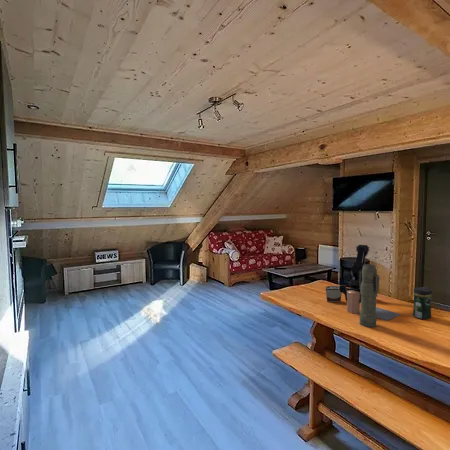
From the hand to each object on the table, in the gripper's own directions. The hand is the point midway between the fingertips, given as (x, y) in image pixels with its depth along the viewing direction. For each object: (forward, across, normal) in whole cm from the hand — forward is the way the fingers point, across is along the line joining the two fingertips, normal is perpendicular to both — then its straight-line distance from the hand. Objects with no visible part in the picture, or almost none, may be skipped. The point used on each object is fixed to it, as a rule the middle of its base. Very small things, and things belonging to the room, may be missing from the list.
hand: (352, 301), depth 193 cm
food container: (-7, -16, +17) cm, 24 cm away
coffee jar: (-4, +37, +14) cm, 40 cm away
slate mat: (+1, +16, +9) cm, 18 cm away
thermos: (+16, +11, -7) cm, 21 cm away
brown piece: (+4, 0, +6) cm, 7 cm away
